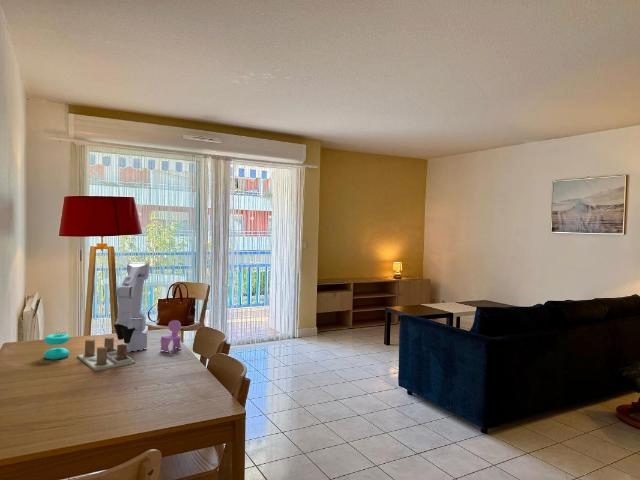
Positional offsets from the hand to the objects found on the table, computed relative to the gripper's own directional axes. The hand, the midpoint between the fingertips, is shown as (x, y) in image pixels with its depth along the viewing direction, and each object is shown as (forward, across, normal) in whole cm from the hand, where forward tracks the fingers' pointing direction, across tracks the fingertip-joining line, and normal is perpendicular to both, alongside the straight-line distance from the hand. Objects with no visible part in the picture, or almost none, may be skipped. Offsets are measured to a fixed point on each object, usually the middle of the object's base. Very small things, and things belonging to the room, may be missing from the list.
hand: (123, 341), depth 198 cm
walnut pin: (+8, +2, -1) cm, 9 cm away
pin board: (+9, -6, -6) cm, 12 cm away
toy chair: (+10, -4, +25) cm, 27 cm away
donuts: (+10, -24, -21) cm, 33 cm away
